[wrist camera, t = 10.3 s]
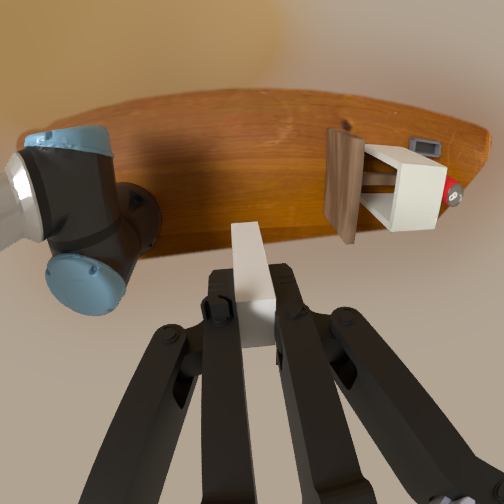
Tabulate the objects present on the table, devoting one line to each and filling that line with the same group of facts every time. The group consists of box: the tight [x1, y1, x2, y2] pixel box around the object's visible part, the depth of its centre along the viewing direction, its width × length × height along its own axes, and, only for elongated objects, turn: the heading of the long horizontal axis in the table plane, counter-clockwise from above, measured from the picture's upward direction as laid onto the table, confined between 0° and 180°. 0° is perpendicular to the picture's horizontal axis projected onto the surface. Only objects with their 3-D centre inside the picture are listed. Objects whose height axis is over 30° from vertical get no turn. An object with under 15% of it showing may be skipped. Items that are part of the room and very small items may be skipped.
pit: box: [408, 137, 442, 158], centre depth 47 cm, size 8×3×2 cm, turn 92°
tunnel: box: [360, 144, 447, 232], centre depth 44 cm, size 10×11×14 cm
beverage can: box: [441, 175, 463, 207], centre depth 46 cm, size 5×5×12 cm
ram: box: [324, 128, 397, 244], centre depth 45 cm, size 20×17×12 cm
